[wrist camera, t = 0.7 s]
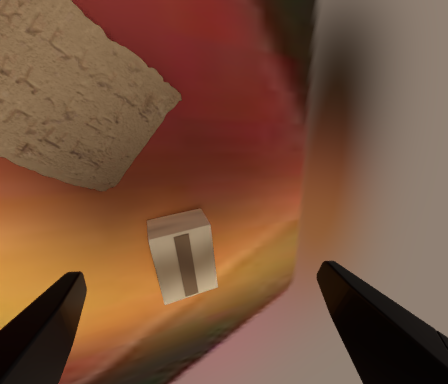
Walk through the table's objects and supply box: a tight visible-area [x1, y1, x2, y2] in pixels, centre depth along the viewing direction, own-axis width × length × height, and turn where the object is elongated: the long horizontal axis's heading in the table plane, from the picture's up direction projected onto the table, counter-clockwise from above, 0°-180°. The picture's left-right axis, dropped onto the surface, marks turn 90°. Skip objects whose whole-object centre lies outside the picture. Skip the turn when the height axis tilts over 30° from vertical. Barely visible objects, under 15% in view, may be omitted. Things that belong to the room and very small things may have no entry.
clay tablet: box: [0, 0, 181, 191], centre depth 14 cm, size 14×10×3 cm
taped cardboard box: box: [147, 208, 218, 305], centre depth 20 cm, size 7×5×4 cm
